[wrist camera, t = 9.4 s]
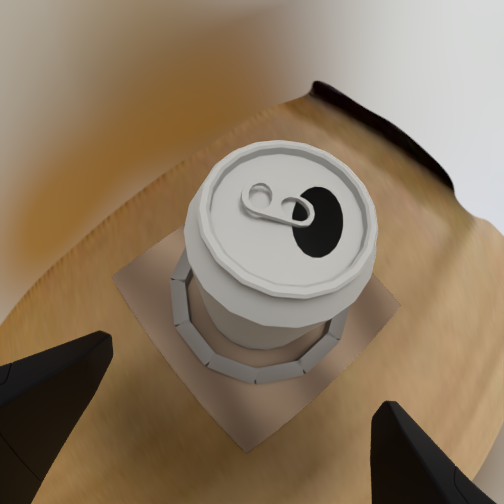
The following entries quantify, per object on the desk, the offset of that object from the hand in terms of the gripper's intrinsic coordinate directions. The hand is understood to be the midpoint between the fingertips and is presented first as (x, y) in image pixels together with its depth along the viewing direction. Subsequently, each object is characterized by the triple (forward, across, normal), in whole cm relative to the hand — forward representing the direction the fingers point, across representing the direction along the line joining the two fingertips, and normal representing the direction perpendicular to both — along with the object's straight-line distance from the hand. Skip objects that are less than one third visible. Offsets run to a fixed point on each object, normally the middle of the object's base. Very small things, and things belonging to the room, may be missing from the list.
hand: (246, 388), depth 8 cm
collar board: (+13, 0, +4) cm, 13 cm away
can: (+12, 0, +4) cm, 12 cm away
